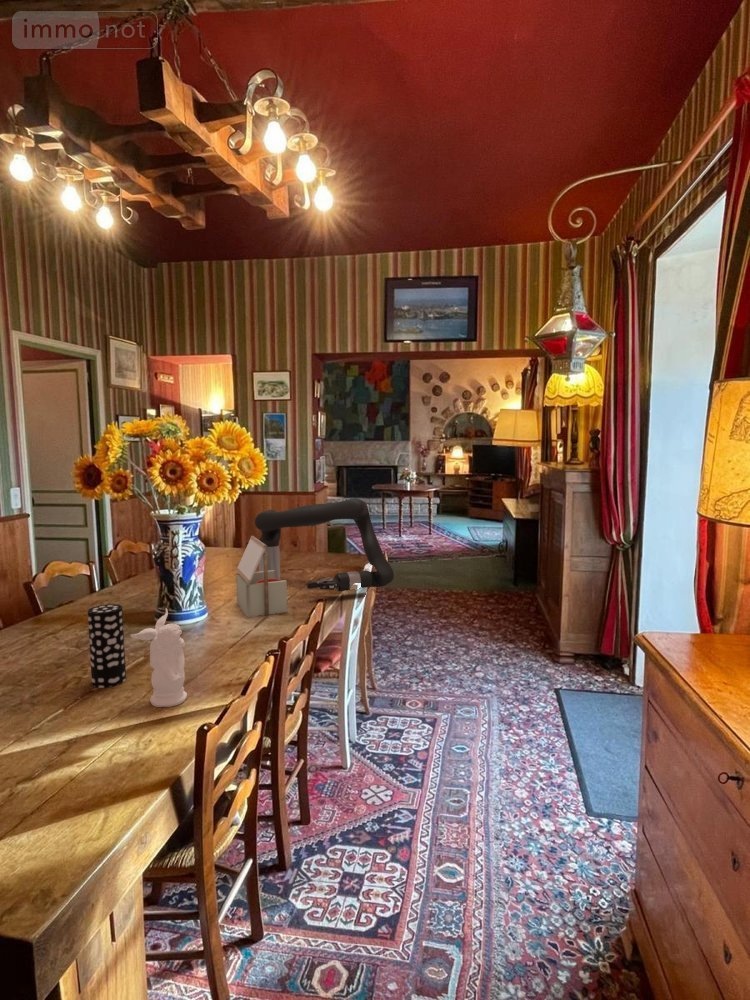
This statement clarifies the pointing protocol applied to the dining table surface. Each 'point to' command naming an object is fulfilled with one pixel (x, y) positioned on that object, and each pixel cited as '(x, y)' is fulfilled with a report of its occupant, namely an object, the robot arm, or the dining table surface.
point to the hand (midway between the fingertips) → (307, 585)
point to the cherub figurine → (166, 662)
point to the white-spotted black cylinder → (106, 645)
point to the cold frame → (261, 595)
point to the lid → (251, 559)
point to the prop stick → (266, 584)
